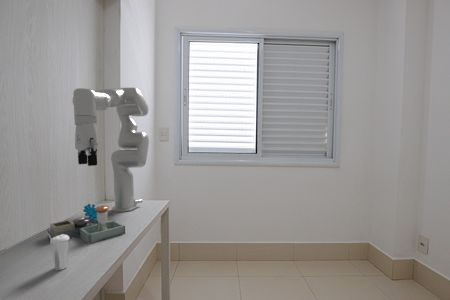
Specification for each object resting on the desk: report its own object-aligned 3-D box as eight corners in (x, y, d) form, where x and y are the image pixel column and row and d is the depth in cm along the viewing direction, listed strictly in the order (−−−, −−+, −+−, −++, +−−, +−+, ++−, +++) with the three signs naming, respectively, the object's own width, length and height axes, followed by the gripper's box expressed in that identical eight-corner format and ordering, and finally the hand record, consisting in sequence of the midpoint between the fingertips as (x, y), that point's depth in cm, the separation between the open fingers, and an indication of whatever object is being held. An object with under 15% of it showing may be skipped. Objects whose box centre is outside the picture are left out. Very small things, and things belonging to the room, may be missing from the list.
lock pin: (106, 230, 98) (105, 205, 97) (110, 232, 95) (110, 207, 94) (94, 233, 94) (93, 207, 94) (98, 236, 91) (98, 209, 91)
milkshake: (54, 264, 72) (53, 230, 71) (73, 263, 72) (72, 229, 72) (44, 272, 67) (42, 236, 67) (64, 271, 68) (63, 235, 67)
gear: (93, 221, 105) (81, 204, 108) (84, 231, 106) (72, 213, 108) (111, 217, 116) (99, 201, 119) (103, 226, 117) (91, 210, 119)
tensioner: (88, 227, 103) (87, 214, 103) (94, 232, 97) (94, 218, 97) (47, 237, 93) (46, 222, 93) (52, 242, 87) (52, 227, 87)
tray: (114, 227, 103) (114, 220, 102) (125, 233, 96) (125, 225, 96) (79, 236, 93) (79, 228, 93) (89, 243, 86) (88, 235, 86)
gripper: (67, 122, 99) (69, 164, 100) (83, 119, 88) (85, 167, 89) (87, 122, 105) (89, 162, 106) (105, 120, 93) (106, 165, 94)
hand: (87, 164), depth 97 cm, fingers open, 9 cm apart
